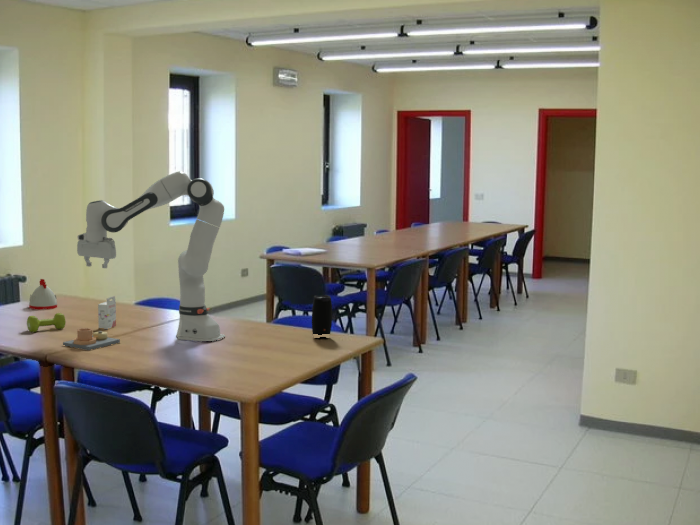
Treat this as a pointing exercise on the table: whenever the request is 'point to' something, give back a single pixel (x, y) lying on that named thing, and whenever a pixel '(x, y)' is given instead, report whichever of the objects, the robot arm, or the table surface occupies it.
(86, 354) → the table surface
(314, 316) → the portable speaker
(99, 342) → the carrier plate
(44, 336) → the table surface
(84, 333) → the octagonal tube stub
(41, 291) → the white and red dome
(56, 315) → the dumbbell
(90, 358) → the table surface
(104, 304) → the ink cartridge box
